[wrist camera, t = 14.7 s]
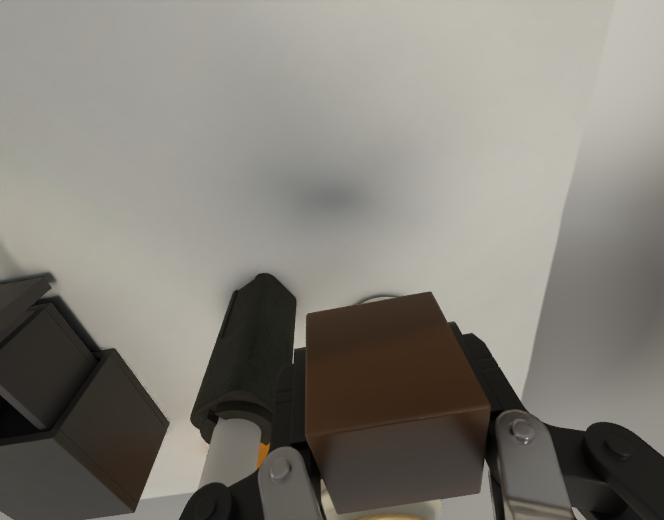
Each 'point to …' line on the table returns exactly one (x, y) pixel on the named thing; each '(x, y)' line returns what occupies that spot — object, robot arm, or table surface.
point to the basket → (36, 360)
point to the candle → (244, 379)
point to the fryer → (86, 451)
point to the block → (392, 405)
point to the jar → (385, 510)
